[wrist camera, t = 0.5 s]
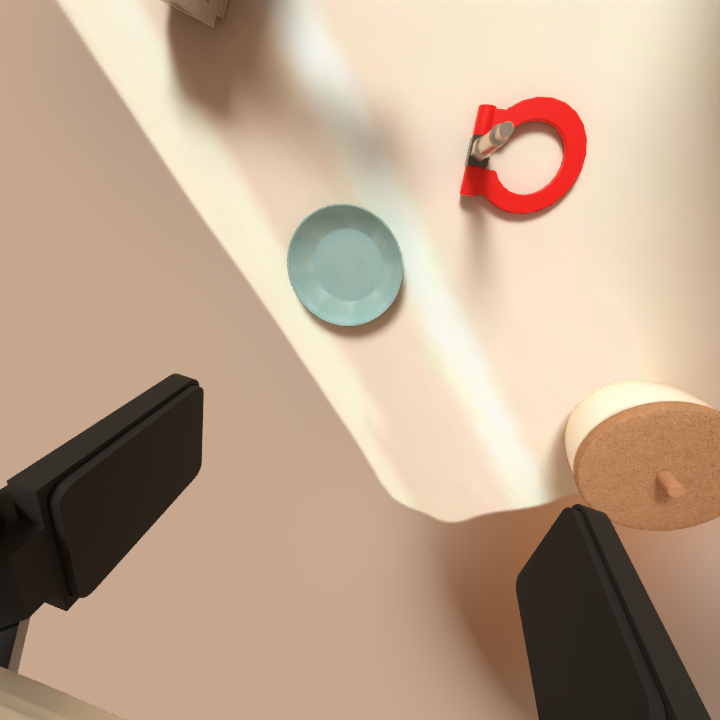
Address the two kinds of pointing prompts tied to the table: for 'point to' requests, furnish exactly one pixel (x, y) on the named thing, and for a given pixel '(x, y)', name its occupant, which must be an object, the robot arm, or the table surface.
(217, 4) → the valve body
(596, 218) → the table surface
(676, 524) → the lidded bowl
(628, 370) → the table surface
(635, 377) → the table surface
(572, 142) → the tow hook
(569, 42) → the table surface
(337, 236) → the saucer
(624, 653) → the robot arm
